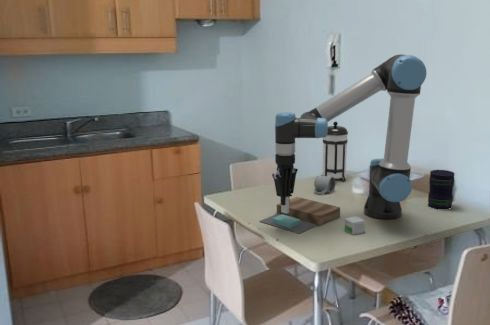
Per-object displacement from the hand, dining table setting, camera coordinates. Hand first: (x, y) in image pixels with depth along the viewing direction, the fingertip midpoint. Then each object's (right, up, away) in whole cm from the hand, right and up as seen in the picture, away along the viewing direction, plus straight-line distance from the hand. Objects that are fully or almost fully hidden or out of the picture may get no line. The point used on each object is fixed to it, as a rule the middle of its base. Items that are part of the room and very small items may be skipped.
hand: (285, 212), depth 199 cm
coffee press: (+31, +11, +64) cm, 72 cm away
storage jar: (+68, 0, +20) cm, 71 cm away
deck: (+10, -2, +12) cm, 16 cm away
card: (+1, -3, +1) cm, 3 cm away
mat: (+1, -5, +3) cm, 6 cm away
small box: (+26, -7, -6) cm, 27 cm away
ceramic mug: (+22, +5, +43) cm, 48 cm away
